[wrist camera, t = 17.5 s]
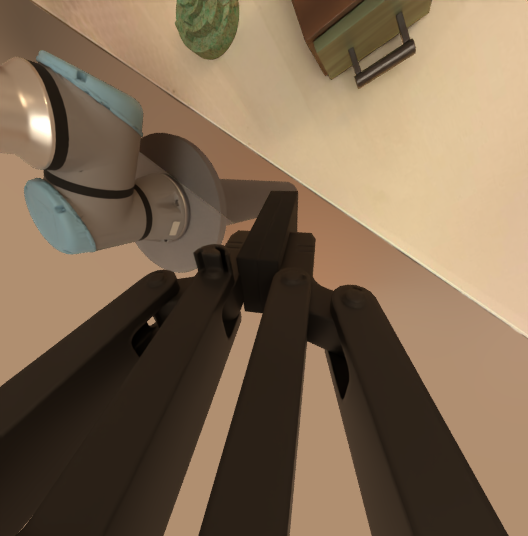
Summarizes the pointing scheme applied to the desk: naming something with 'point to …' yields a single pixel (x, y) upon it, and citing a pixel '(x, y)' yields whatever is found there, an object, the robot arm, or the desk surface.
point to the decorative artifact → (207, 25)
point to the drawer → (369, 37)
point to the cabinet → (320, 18)
